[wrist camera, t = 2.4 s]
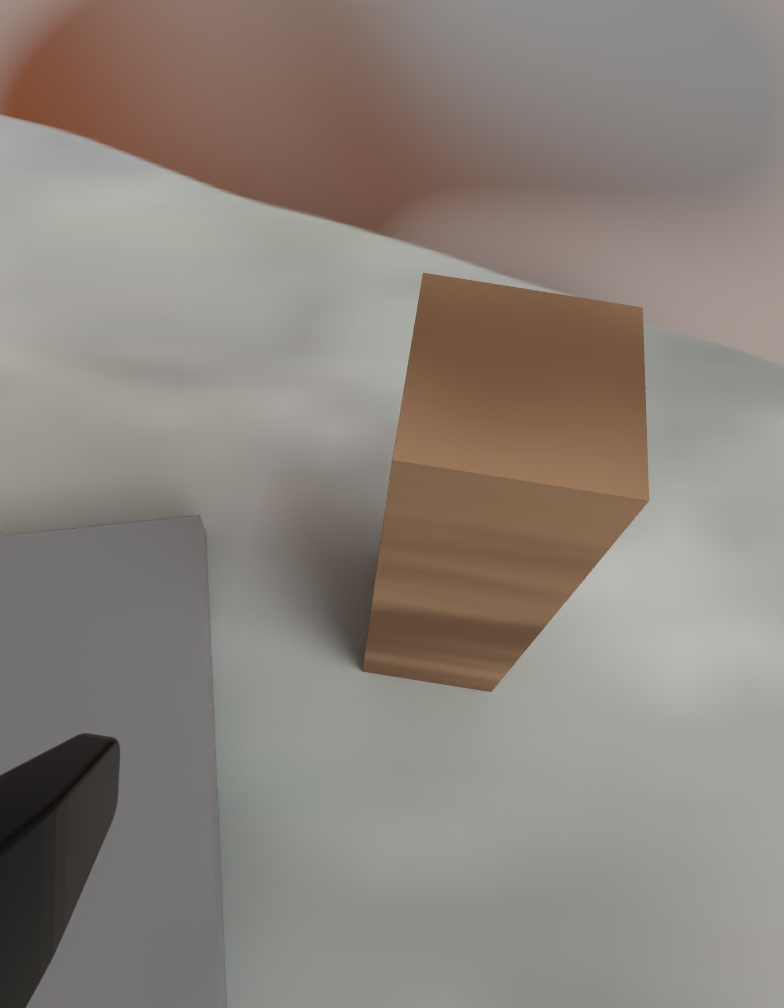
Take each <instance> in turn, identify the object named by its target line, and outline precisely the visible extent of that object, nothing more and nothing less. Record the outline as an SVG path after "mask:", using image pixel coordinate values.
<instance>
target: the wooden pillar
mask: <svg viewBox="0 0 784 1008" xmlns="http://www.w3.org/2000/svg"><path fill="white" fill-rule="evenodd" d="M648 501H649V486H648V456H647V425H646V395H645V365H644V335H643V308H641V307H636V306H629V305H622V304H617V303H610V302H604V301H598V300H591V299H585V298H579V297H573V296H566V295H560V294H554V293H547V292H541V291H535V290H528V289H522V288H516V287H510V286H503V285H497V284H491V283H484V282H478V281H472V280H465V279H459V278H453V277H446V276H440V275H434V274H428V273H423V277H422V283H421V289H420V295H419V301H418V307H417V313H416V319H415V325H414V331H413V337H412V343H411V349H410V355H409V361H408V367H407V374H406V380H405V386H404V392H403V398H402V404H401V410H400V416H399V422H398V428H397V434H396V440H395V446H394V452H393V458H392V465H391V472H390V479H389V487H388V494H387V501H386V508H385V515H384V522H383V529H382V536H381V543H380V551H379V558H378V565H377V572H376V579H375V586H374V593H373V600H372V607H371V614H370V622H369V629H368V636H367V643H366V650H365V657H364V664H363V671H364V672H370V673H376V674H382V675H389V676H395V677H401V678H408V679H414V680H420V681H426V682H433V683H439V684H445V685H451V686H458V687H464V688H470V689H477V690H483V691H489V692H491V691H492V690H493V689H494V688H495V687H496V685H497V684H498V683H499V682H500V681H501V679H502V678H503V677H504V676H505V675H506V673H507V672H508V671H509V670H510V668H511V667H512V666H513V665H514V664H515V662H516V661H517V660H518V659H519V658H520V656H521V655H522V654H523V653H524V652H525V650H526V649H527V648H528V647H529V645H530V644H531V643H532V642H533V641H534V639H535V638H536V637H537V636H538V635H539V633H540V632H541V631H542V630H543V628H544V627H545V626H546V625H547V624H548V622H549V621H550V620H551V619H552V618H553V616H554V615H555V614H556V613H557V612H558V610H559V609H560V608H561V607H562V605H563V604H564V603H565V602H566V601H567V599H568V598H569V597H570V596H571V595H572V593H573V592H574V591H575V590H576V589H577V587H578V586H579V585H580V584H581V582H582V581H583V580H584V579H585V578H586V576H587V575H588V574H589V573H590V572H591V570H592V569H593V568H594V567H595V566H596V564H597V563H598V562H599V561H600V559H601V558H602V557H603V556H604V555H605V553H606V552H607V551H608V550H609V549H610V547H611V546H612V545H613V544H614V542H615V541H616V540H617V539H618V538H619V536H620V535H621V534H622V533H623V532H624V530H625V529H626V528H627V527H628V526H629V524H630V523H631V522H632V521H633V519H634V518H635V517H636V516H637V515H638V513H639V512H640V511H641V510H642V509H643V507H644V506H645V505H646V504H647V503H648Z"/></svg>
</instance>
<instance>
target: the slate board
mask: <svg viewBox="0 0 784 1008" xmlns="http://www.w3.org/2000/svg"><path fill="white" fill-rule="evenodd" d="M82 733H90V734H96V735H103V736H109V737H114V738H116V739H117V741H118V742H119V745H120V771H119V792H118V803H117V808H116V812H115V815H114V818H113V821H112V823H111V826H110V828H109V830H108V833H107V835H106V837H105V840H104V842H103V844H102V847H101V849H100V851H99V854H98V856H97V858H96V861H95V863H94V865H93V868H92V870H91V872H90V875H89V877H88V879H87V881H86V884H85V886H84V888H83V891H82V893H81V895H80V898H79V900H78V902H77V905H76V907H75V909H74V912H73V914H72V916H71V919H70V921H69V923H68V926H67V928H66V930H65V932H64V935H63V937H62V939H61V941H60V944H59V946H58V948H57V950H56V952H55V955H54V957H53V959H52V961H51V962H50V964H49V966H48V968H47V970H46V972H45V974H44V976H43V978H42V980H41V981H40V983H39V985H38V987H37V989H36V990H35V992H34V994H33V996H32V998H31V999H30V1001H29V1003H28V1005H27V1007H26V1008H227V1000H226V977H225V955H224V932H223V909H222V886H221V864H220V841H219V818H218V795H217V773H216V750H215V727H214V705H213V682H212V659H211V636H210V614H209V591H208V568H207V545H206V530H205V528H204V525H203V522H202V519H201V517H200V515H197V516H187V517H178V518H168V519H159V520H149V521H139V522H130V523H120V524H111V525H101V526H92V527H82V528H72V529H63V530H53V531H44V532H34V533H25V534H15V535H5V536H0V775H1V774H3V773H5V772H7V771H9V770H11V769H13V768H15V767H17V766H19V765H20V764H22V763H24V762H26V761H28V760H30V759H32V758H34V757H36V756H38V755H40V754H42V753H44V752H45V751H47V750H49V749H51V748H53V747H55V746H57V745H59V744H61V743H63V742H65V741H67V740H69V739H70V738H72V737H74V736H76V735H79V734H82Z"/></svg>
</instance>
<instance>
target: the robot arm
mask: <svg viewBox="0 0 784 1008" xmlns="http://www.w3.org/2000/svg"><path fill="white" fill-rule="evenodd" d="M119 771H120V745H119V742H118V741H117V739H116V738H114V737H109V736H103V735H96V734H90V733H82V734H79V735H76V736H74V737H72V738H70V739H69V740H67V741H65V742H63V743H61V744H59V745H57V746H55V747H53V748H51V749H49V750H47V751H45V752H44V753H42V754H40V755H38V756H36V757H34V758H32V759H30V760H28V761H26V762H24V763H22V764H20V765H19V766H17V767H15V768H13V769H11V770H9V771H7V772H5V773H3V774H1V775H0V1008H26V1007H27V1005H28V1003H29V1001H30V999H31V998H32V996H33V994H34V992H35V990H36V989H37V987H38V985H39V983H40V981H41V980H42V978H43V976H44V974H45V972H46V970H47V968H48V966H49V964H50V962H51V961H52V959H53V957H54V955H55V952H56V950H57V948H58V946H59V944H60V941H61V939H62V937H63V935H64V932H65V930H66V928H67V926H68V923H69V921H70V919H71V916H72V914H73V912H74V909H75V907H76V905H77V902H78V900H79V898H80V895H81V893H82V891H83V888H84V886H85V884H86V881H87V879H88V877H89V875H90V872H91V870H92V868H93V865H94V863H95V861H96V858H97V856H98V854H99V851H100V849H101V847H102V844H103V842H104V840H105V837H106V835H107V833H108V830H109V828H110V826H111V823H112V821H113V818H114V815H115V812H116V808H117V803H118V792H119Z"/></svg>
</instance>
